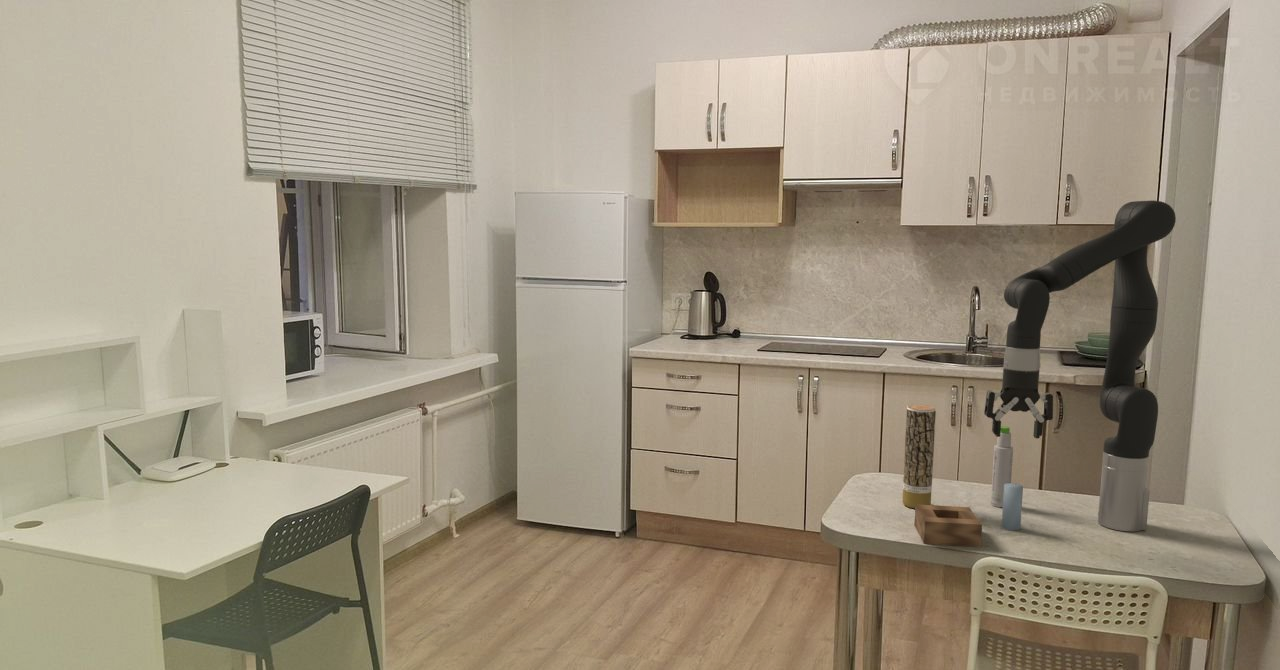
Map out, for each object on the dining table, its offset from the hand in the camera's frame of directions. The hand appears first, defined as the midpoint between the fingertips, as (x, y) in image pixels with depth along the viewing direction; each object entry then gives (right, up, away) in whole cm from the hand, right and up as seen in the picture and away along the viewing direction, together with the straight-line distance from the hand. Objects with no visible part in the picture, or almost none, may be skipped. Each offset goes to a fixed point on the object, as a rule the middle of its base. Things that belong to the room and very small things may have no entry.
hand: (1016, 436), depth 196 cm
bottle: (+4, -20, +19) cm, 28 cm away
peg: (0, -21, +3) cm, 22 cm away
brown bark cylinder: (-17, -20, +18) cm, 32 cm away
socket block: (-17, -22, -3) cm, 28 cm away
